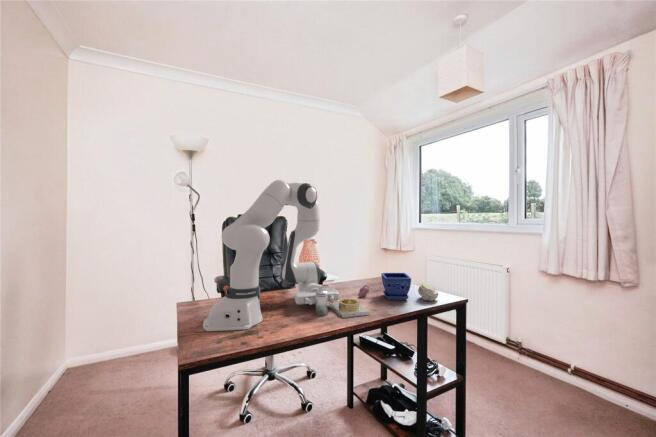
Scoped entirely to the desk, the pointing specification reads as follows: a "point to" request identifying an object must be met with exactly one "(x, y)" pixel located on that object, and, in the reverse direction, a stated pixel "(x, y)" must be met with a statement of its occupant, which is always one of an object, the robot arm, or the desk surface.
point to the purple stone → (364, 290)
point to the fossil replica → (427, 292)
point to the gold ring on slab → (349, 308)
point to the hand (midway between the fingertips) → (322, 301)
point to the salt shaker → (321, 302)
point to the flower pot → (396, 285)
